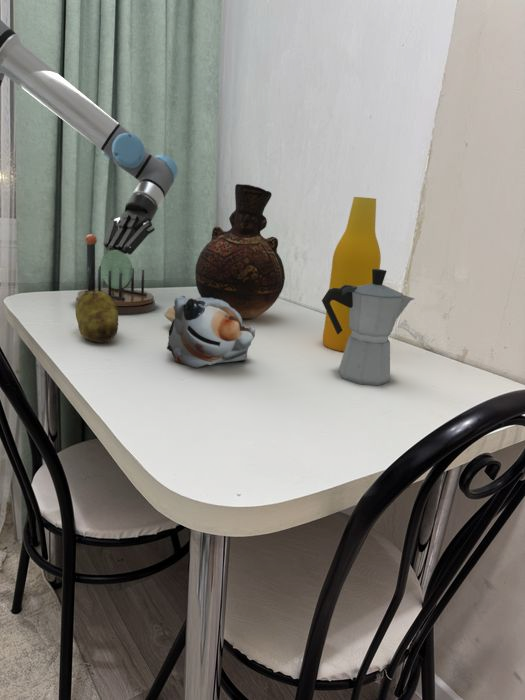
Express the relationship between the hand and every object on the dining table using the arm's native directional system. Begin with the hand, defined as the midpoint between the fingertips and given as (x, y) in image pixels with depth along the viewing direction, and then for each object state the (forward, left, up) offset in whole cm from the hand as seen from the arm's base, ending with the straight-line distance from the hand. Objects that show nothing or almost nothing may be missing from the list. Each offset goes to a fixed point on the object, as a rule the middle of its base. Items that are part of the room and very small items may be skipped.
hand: (103, 271), depth 124 cm
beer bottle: (+62, 0, -7) cm, 63 cm away
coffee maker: (+69, -17, -7) cm, 72 cm away
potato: (+22, -27, -7) cm, 36 cm away
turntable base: (+7, -4, -7) cm, 11 cm away
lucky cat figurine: (+46, -26, -7) cm, 53 cm away
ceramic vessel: (+33, +8, -7) cm, 35 cm away
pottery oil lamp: (+32, -12, -7) cm, 35 cm away
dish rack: (+7, -4, -5) cm, 10 cm away
